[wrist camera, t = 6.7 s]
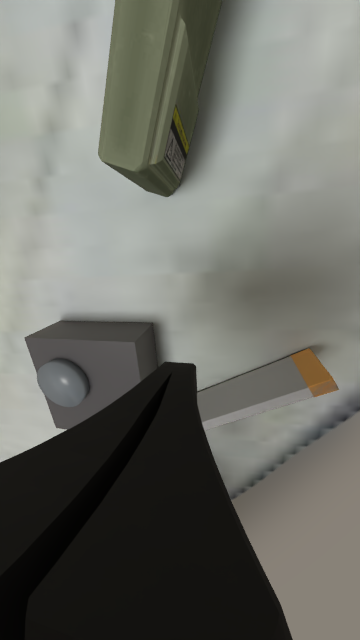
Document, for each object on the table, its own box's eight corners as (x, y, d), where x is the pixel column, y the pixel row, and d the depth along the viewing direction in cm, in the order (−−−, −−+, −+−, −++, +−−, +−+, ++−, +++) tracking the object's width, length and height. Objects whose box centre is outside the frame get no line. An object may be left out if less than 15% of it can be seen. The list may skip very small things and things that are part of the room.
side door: (167, 411, 22) (155, 446, 18) (162, 405, 22) (149, 438, 18) (314, 357, 16) (338, 389, 13) (309, 348, 16) (333, 378, 13)
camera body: (162, 409, 22) (146, 450, 18) (81, 399, 24) (49, 434, 20) (152, 322, 19) (129, 347, 14) (59, 320, 21) (15, 341, 16)
